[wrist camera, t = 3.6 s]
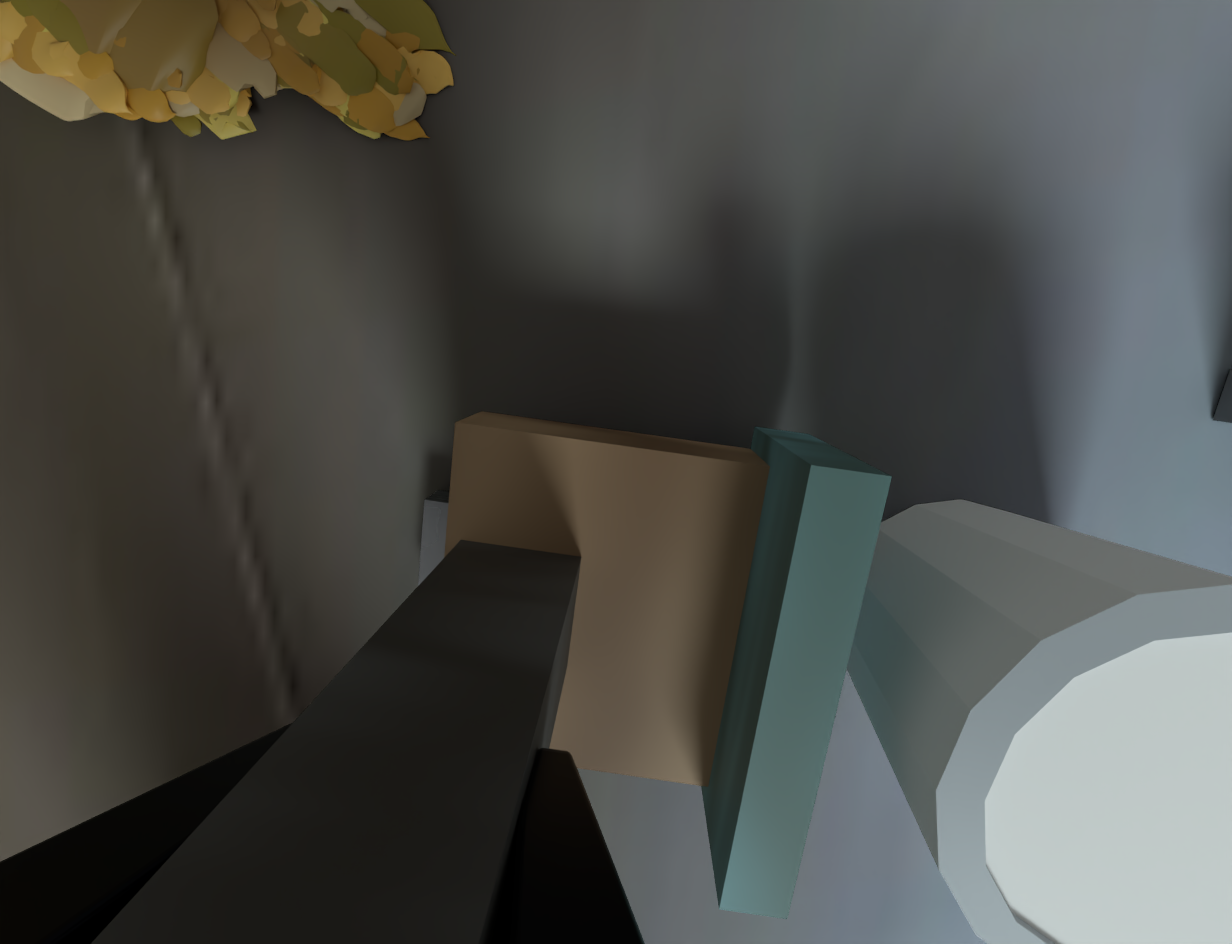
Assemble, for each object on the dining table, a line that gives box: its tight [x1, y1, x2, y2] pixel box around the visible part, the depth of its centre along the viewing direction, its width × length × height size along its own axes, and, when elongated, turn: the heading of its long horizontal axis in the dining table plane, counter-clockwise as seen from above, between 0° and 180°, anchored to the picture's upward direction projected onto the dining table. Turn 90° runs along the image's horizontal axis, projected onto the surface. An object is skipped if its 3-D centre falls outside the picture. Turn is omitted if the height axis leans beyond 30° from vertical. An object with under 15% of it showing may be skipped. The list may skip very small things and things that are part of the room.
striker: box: [91, 411, 892, 944], centre depth 9 cm, size 7×8×11 cm
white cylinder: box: [847, 499, 1232, 944], centre depth 12 cm, size 7×7×7 cm
